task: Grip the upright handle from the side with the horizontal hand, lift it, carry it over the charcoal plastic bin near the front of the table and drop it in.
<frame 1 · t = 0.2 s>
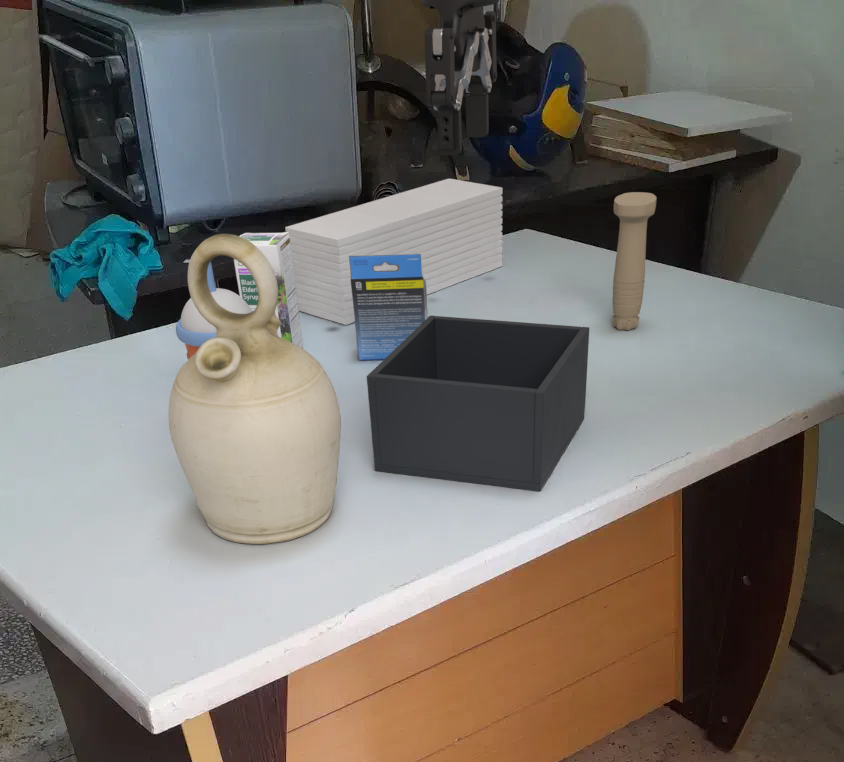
hand: (464, 145, 102), 25 cm above the table, tool pointing down, fingers open, 8 cm apart
white rectangular block: (402, 289, 148), on the table
tape cartridge: (394, 356, 128), on the table
handle: (625, 328, 132), on the table
jug: (271, 516, 98), on the table
syrup box: (278, 361, 129), on the table
cup with straw: (234, 417, 116), on the table
bin: (482, 444, 107), on the table
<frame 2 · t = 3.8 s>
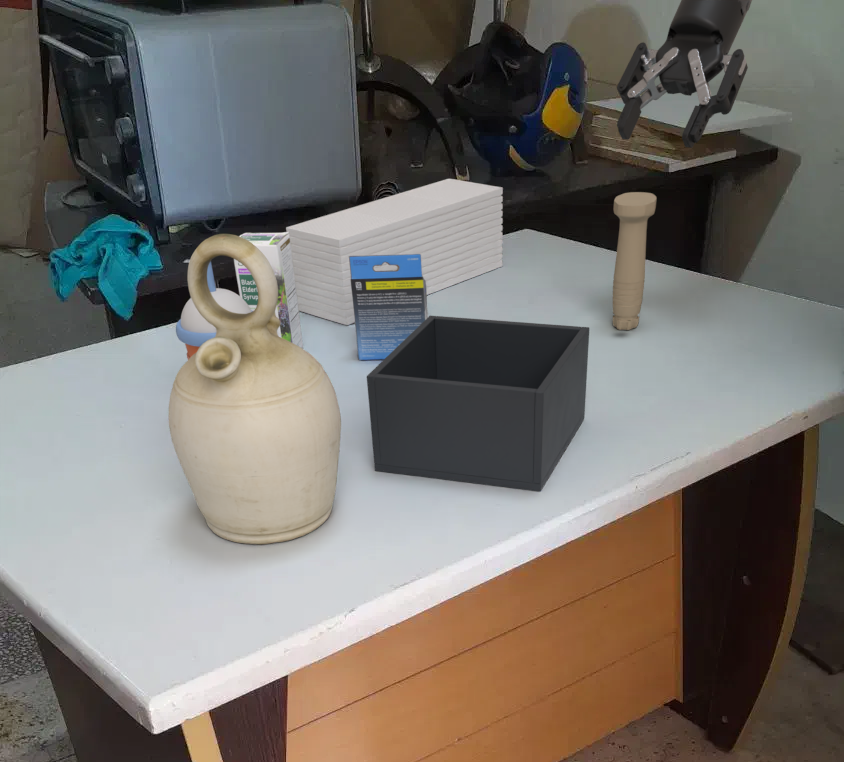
hand: (654, 139, 119), 21 cm above the table, tool tilted 45°, fingers open, 8 cm apart
nothing on the table moved.
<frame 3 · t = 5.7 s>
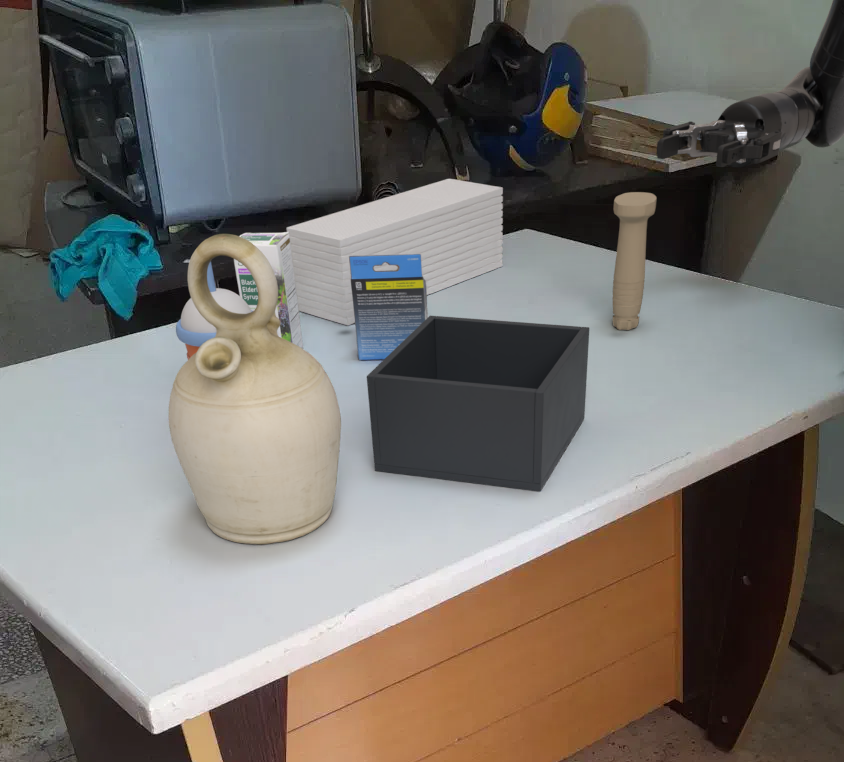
hand: (689, 153, 125), 18 cm above the table, tool horizontal, fingers open, 8 cm apart
nothing on the table moved.
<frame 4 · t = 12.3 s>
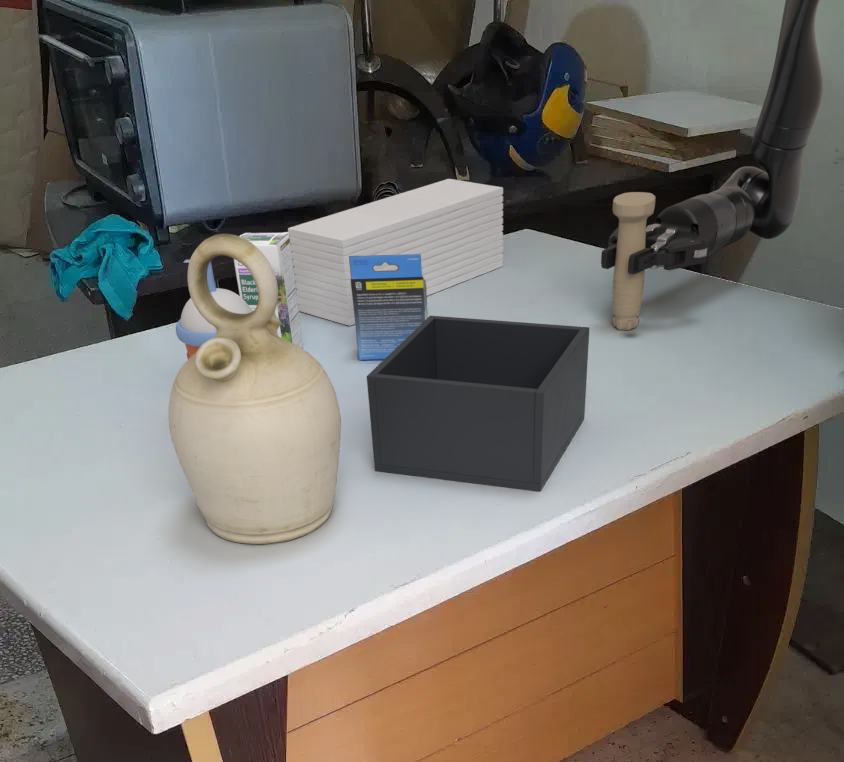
hand: (617, 262, 124), 9 cm above the table, tool horizontal, fingers closed on handle, 3 cm apart
handle: (625, 328, 132), on the table, touching gripper
everything else where it was.
when the fingers open (17 cm above the table, at t = 22.5 s): handle drops 3 cm, point 5 cm above the table.
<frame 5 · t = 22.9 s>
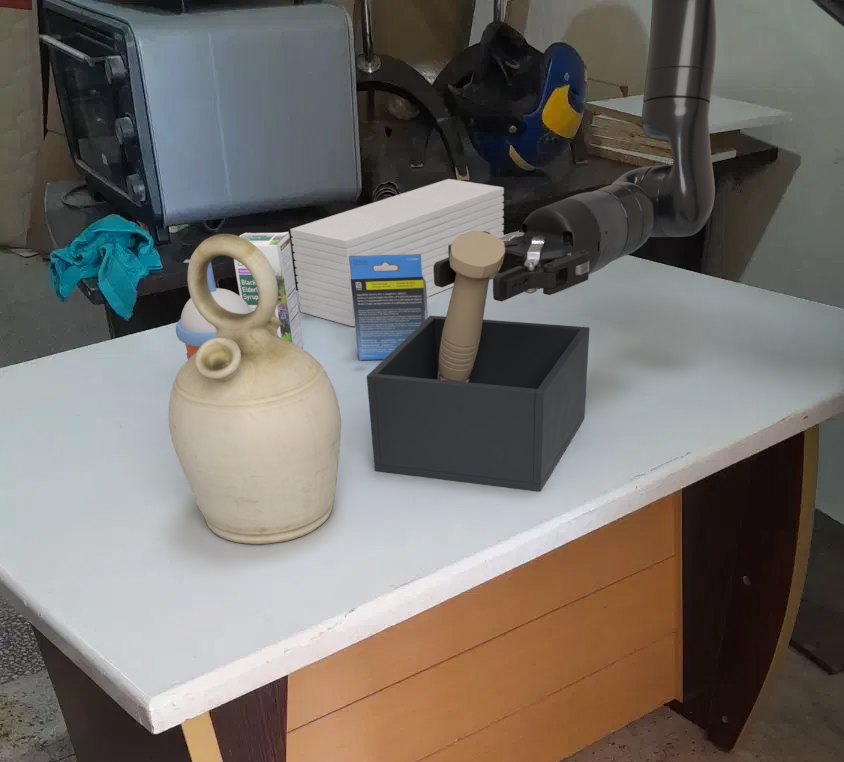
hand: (465, 282, 95), 17 cm above the table, tool horizontal, fingers open, 7 cm apart
handle: (451, 387, 108), point 5 cm above the table, touching gripper
everything else where it was.
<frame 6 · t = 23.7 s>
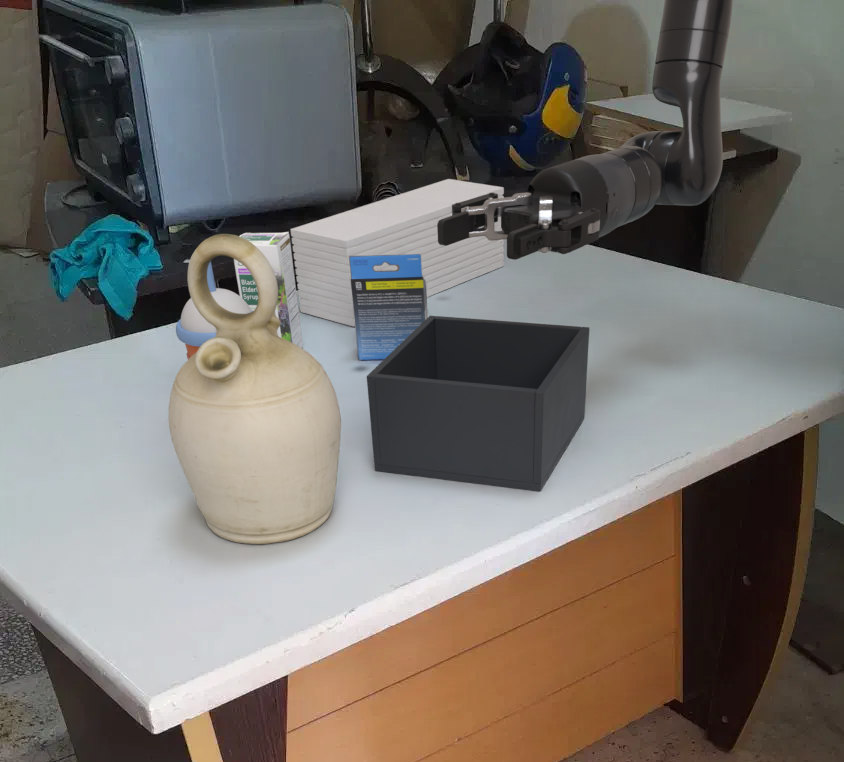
hand: (474, 240, 93), 20 cm above the table, tool horizontal, fingers open, 8 cm apart
handle: (434, 403, 110), point 2 cm above the table, touching bin
everything else where it was.
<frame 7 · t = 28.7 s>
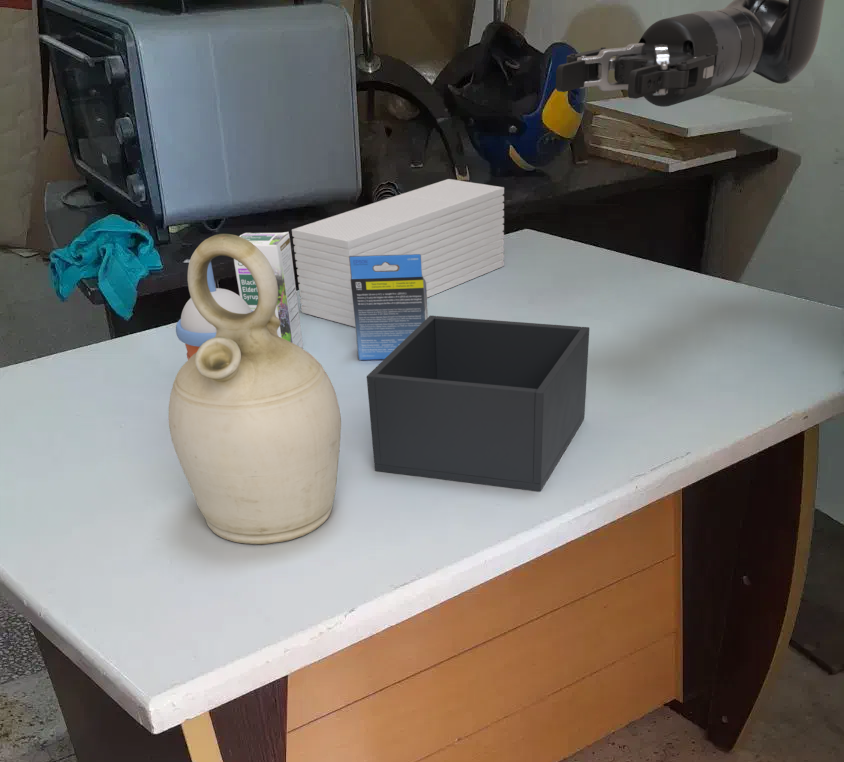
hand: (594, 82, 97), 30 cm above the table, tool horizontal, fingers open, 8 cm apart
nothing on the table moved.
at the end: handle inside the target area in the bin (7.4 cm from its centre), point 2.4 cm above the bin's base; the gripper is holding nothing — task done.
